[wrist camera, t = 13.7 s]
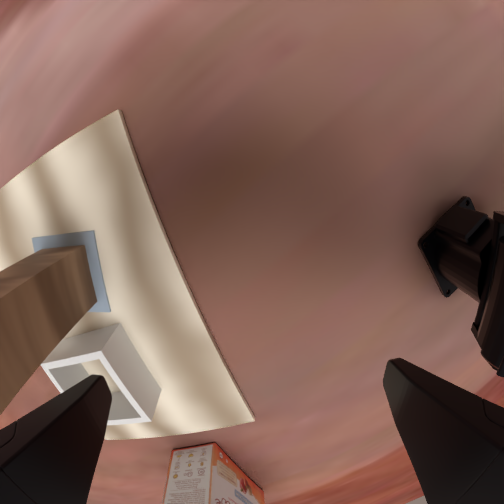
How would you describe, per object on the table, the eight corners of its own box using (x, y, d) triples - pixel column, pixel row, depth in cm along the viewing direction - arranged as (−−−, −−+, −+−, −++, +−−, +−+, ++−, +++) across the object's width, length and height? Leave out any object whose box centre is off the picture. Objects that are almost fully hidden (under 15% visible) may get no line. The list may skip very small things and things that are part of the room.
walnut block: (84, 244, 19) (-44, 331, 7) (97, 301, 20) (0, 414, 8) (41, 248, 19) (-78, 321, 7) (54, 301, 20) (-43, 394, 8)
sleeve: (120, 322, 21) (100, 350, 17) (161, 389, 23) (151, 421, 19) (61, 339, 22) (40, 364, 18) (101, 398, 24) (87, 426, 20)
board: (121, 110, 17) (116, 109, 17) (254, 416, 25) (254, 422, 24) (-21, 211, 19) (-27, 212, 18) (107, 436, 26) (105, 441, 26)
